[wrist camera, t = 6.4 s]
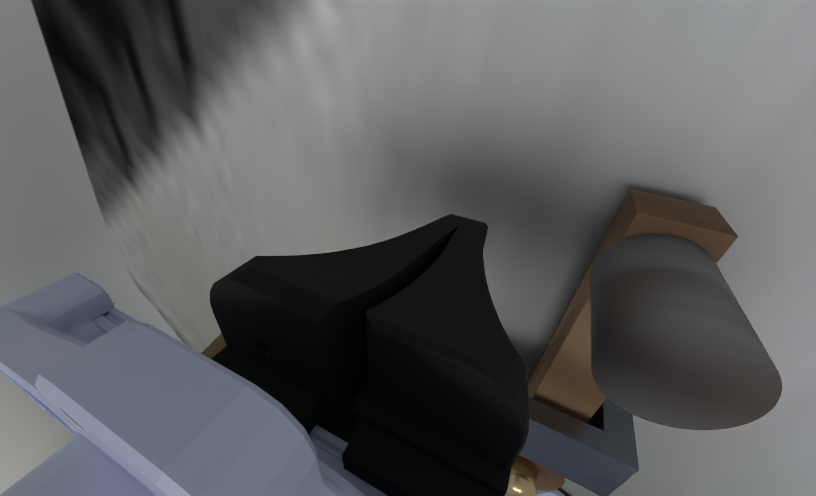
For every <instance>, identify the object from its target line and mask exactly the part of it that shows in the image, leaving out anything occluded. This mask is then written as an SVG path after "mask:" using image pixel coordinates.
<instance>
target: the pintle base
mask: <svg viewBox="0 0 816 496" xmlns="http://www.w3.org/2000/svg"><path fill="white" fill-rule="evenodd" d="M537 478H538V471H537V469H536V467H535V466H534V465H532V464H531V463H530V462H528V461H526V460H524V459H522V458H519V457H517V459H516V461H515V463H514V464H513V466H512V468H511V474H510V479H509V485H508V489H507V493H506V494H505V495H504V496H535V495H536V487H537Z"/></svg>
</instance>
